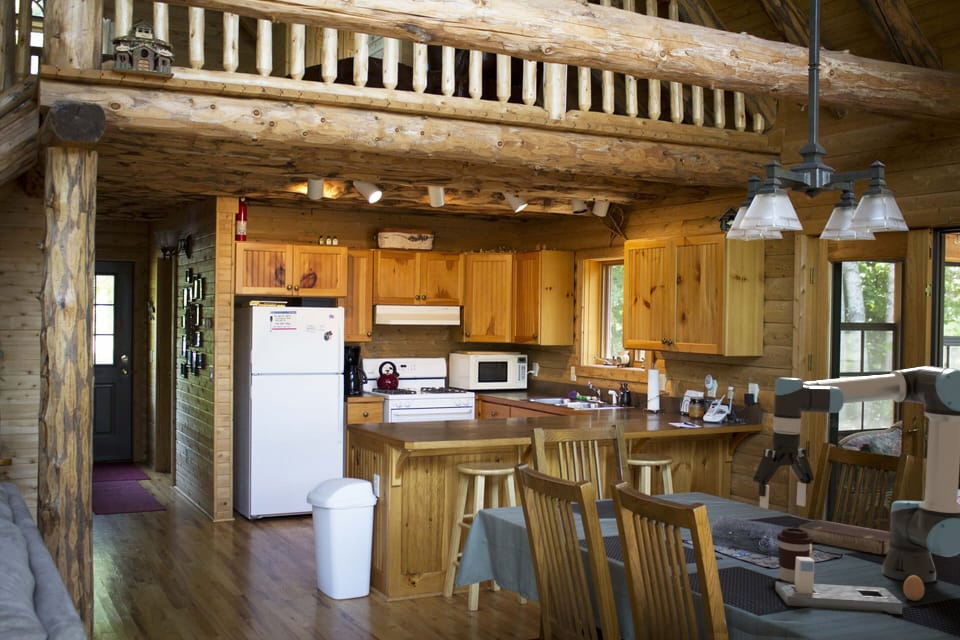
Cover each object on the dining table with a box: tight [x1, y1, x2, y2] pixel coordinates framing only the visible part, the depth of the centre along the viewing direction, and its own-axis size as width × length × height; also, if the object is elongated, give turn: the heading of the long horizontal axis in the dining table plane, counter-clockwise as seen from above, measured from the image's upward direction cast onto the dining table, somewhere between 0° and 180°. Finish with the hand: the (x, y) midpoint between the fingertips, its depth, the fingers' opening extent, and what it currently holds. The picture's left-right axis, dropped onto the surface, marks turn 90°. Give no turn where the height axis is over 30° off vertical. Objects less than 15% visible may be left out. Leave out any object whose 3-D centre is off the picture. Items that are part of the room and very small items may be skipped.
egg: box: [902, 575, 925, 602], centre depth 273 cm, size 5×5×7 cm
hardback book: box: [798, 519, 890, 556], centre depth 341 cm, size 29×19×5 cm, turn 51°
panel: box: [774, 581, 903, 615], centre depth 268 cm, size 30×14×3 cm, turn 86°
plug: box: [794, 556, 815, 593], centre depth 268 cm, size 4×5×11 cm
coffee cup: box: [776, 527, 813, 583], centre depth 288 cm, size 10×10×15 cm
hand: (782, 506), depth 278 cm, fingers open, 13 cm apart
